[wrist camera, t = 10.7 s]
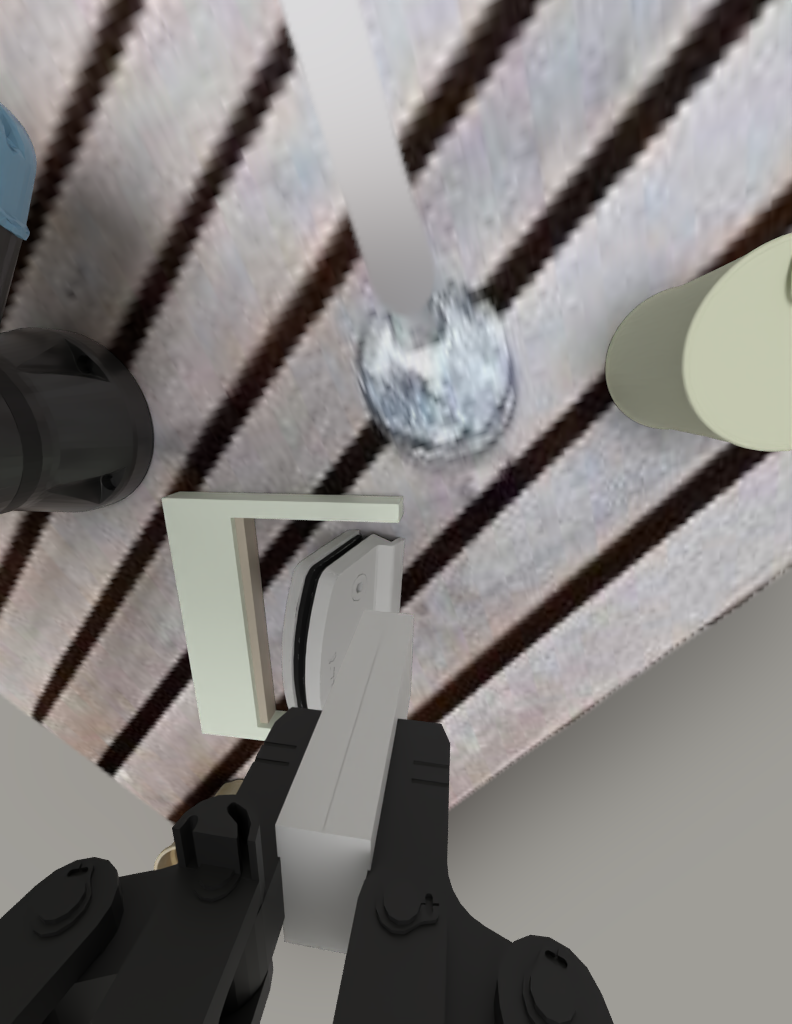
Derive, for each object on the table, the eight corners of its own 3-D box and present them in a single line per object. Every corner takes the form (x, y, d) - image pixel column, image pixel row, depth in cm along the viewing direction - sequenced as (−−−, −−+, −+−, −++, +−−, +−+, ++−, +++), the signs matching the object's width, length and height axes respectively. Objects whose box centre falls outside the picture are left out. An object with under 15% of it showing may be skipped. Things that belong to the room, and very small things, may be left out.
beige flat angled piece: (215, 715, 45) (202, 733, 43) (179, 491, 38) (161, 498, 36) (405, 736, 42) (402, 756, 40) (402, 496, 35) (398, 504, 33)
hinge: (393, 700, 41) (328, 778, 33) (351, 681, 43) (280, 751, 35) (405, 534, 36) (332, 576, 28) (358, 522, 38) (277, 558, 30)
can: (757, 272, 27) (962, 192, 16) (749, 418, 30) (923, 439, 18) (602, 301, 29) (688, 248, 18) (606, 437, 32) (685, 467, 20)
